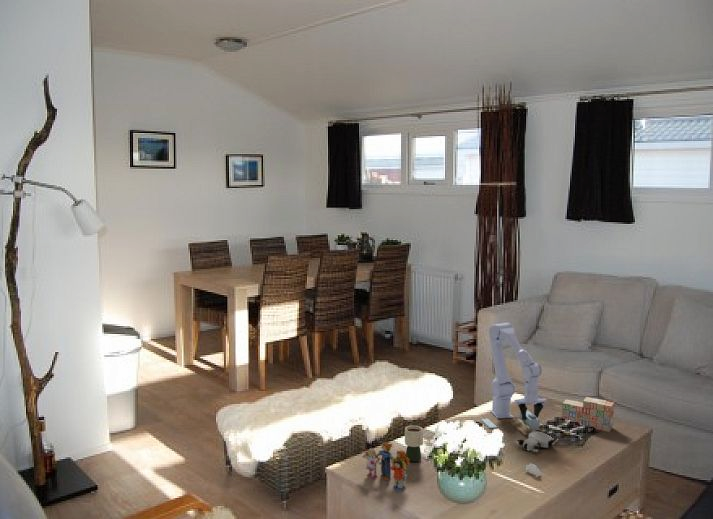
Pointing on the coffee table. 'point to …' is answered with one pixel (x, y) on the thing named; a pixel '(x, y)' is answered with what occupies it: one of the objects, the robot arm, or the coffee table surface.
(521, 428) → the wooden pallet
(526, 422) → the light blue block
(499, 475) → the coffee table surface
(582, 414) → the stack of blocks
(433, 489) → the coffee table surface
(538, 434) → the robot toy
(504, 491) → the coffee table surface
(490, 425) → the wing plate
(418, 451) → the character mug
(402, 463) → the doll family
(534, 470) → the car cutout
